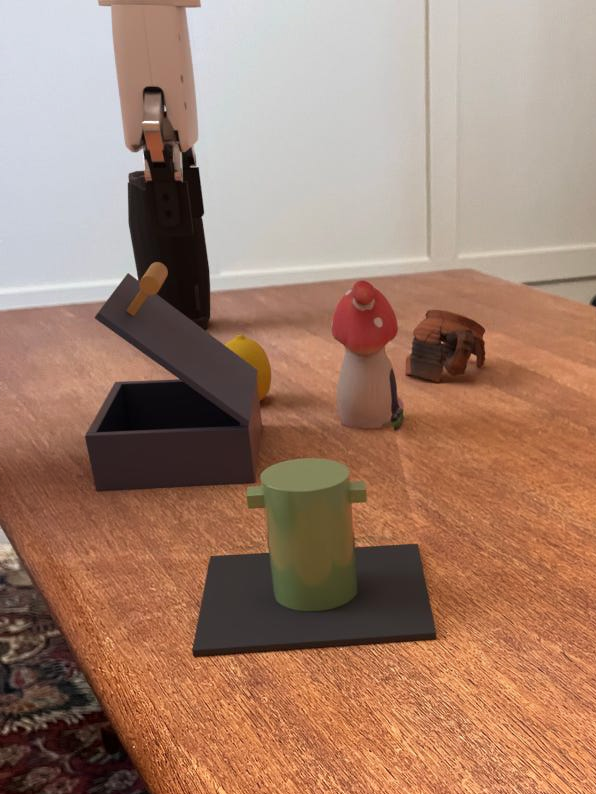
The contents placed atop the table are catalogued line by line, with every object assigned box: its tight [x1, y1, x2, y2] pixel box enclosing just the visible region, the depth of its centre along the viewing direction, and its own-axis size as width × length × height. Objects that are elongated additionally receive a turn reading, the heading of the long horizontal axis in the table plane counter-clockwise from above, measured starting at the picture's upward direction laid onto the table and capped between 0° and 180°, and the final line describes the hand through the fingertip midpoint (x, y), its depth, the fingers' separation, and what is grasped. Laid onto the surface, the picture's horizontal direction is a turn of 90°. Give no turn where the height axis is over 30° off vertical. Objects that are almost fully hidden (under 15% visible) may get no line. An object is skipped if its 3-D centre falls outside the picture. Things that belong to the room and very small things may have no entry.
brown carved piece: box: [404, 309, 486, 384], centre depth 120 cm, size 12×10×8 cm
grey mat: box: [191, 543, 437, 657], centre depth 73 cm, size 16×14×1 cm
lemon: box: [224, 333, 272, 402], centre depth 108 cm, size 6×6×8 cm
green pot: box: [245, 457, 368, 612], centre depth 71 cm, size 8×6×9 cm
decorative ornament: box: [330, 280, 405, 430], centre depth 101 cm, size 9×6×15 cm
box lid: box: [94, 262, 258, 426], centre depth 90 cm, size 14×16×4 cm
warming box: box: [84, 378, 263, 492], centre depth 94 cm, size 14×16×6 cm
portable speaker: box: [127, 170, 211, 331], centre depth 135 cm, size 9×9×20 cm
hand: (179, 226), depth 85 cm, fingers open, 9 cm apart
